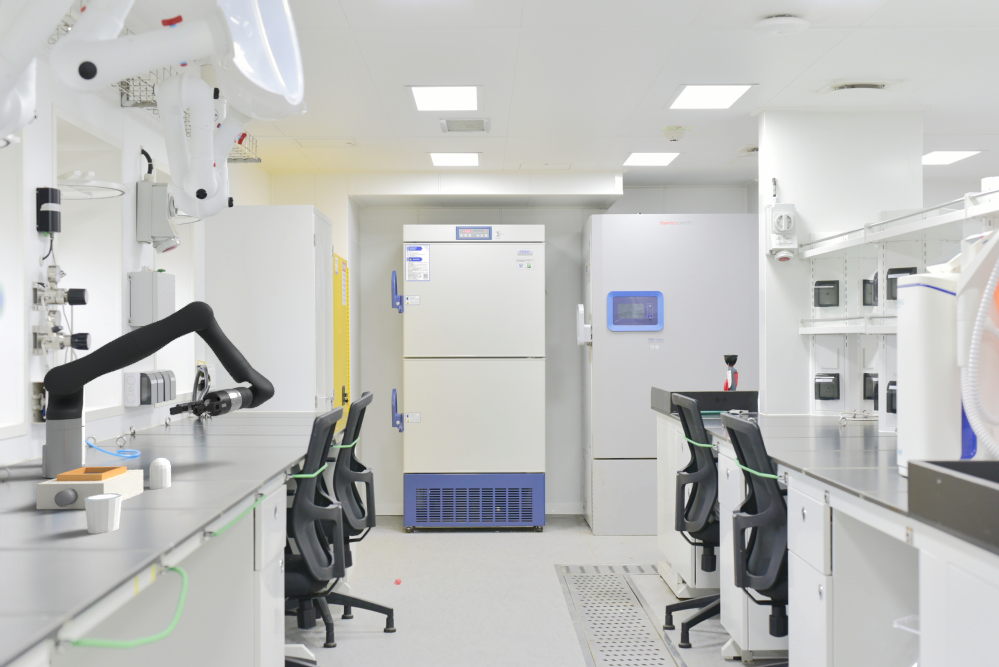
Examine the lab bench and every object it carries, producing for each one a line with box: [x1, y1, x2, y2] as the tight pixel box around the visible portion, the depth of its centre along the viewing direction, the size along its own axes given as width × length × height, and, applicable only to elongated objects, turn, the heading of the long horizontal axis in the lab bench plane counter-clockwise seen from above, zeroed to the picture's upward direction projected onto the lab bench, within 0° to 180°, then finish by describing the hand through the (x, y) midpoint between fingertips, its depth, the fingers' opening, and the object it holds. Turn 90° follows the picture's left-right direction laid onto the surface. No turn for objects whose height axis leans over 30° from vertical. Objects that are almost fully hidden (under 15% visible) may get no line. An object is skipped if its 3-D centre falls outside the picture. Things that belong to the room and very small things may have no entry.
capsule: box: [149, 457, 172, 490], centre depth 188 cm, size 5×5×8 cm
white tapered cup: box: [85, 493, 123, 534], centre depth 144 cm, size 7×7×7 cm
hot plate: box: [36, 466, 144, 510], centre depth 170 cm, size 16×21×8 cm
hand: (182, 411), depth 196 cm, fingers open, 8 cm apart
